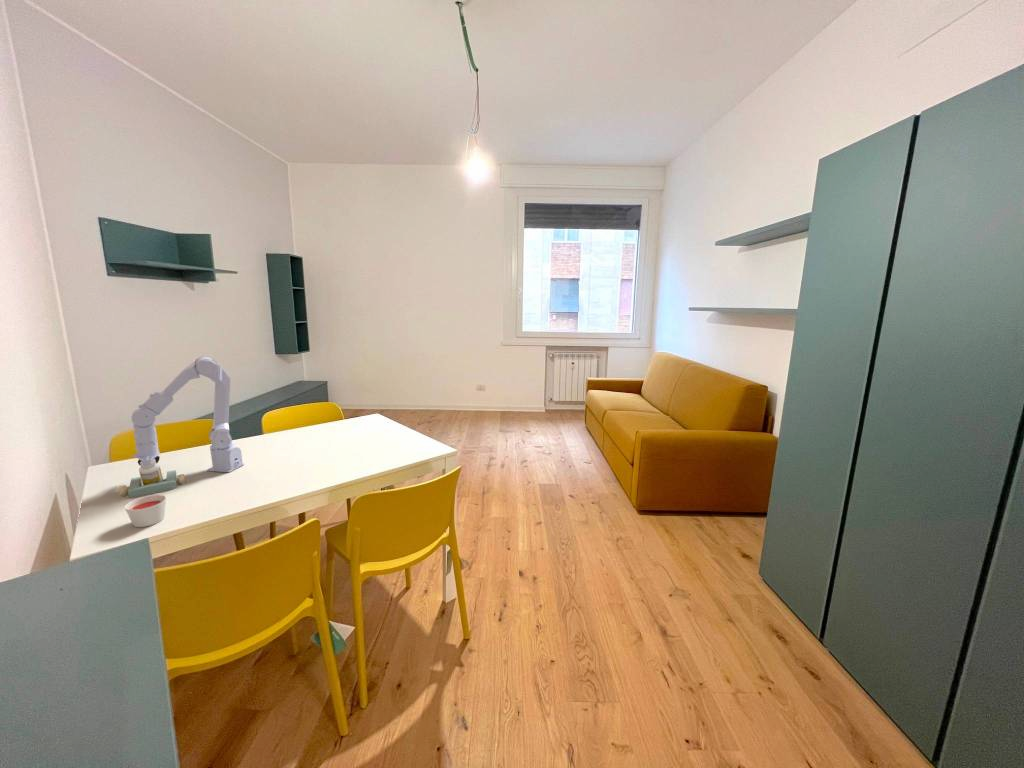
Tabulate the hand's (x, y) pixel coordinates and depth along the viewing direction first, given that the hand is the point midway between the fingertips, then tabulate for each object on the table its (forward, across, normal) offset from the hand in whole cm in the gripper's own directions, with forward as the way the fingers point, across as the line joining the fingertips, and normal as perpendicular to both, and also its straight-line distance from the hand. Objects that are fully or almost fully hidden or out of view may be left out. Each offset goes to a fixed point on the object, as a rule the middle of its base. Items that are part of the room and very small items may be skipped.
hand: (151, 477), depth 141 cm
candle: (+2, +32, +1) cm, 32 cm away
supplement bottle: (+2, +2, +1) cm, 3 cm away
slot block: (+2, +4, +1) cm, 5 cm away
